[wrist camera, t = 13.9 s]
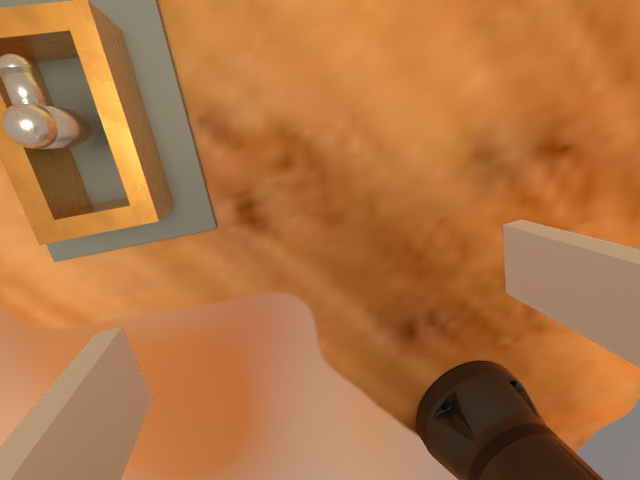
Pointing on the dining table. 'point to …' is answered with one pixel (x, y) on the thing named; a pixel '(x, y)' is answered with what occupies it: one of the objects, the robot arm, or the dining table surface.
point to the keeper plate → (166, 122)
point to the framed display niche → (115, 113)
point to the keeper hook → (43, 113)
